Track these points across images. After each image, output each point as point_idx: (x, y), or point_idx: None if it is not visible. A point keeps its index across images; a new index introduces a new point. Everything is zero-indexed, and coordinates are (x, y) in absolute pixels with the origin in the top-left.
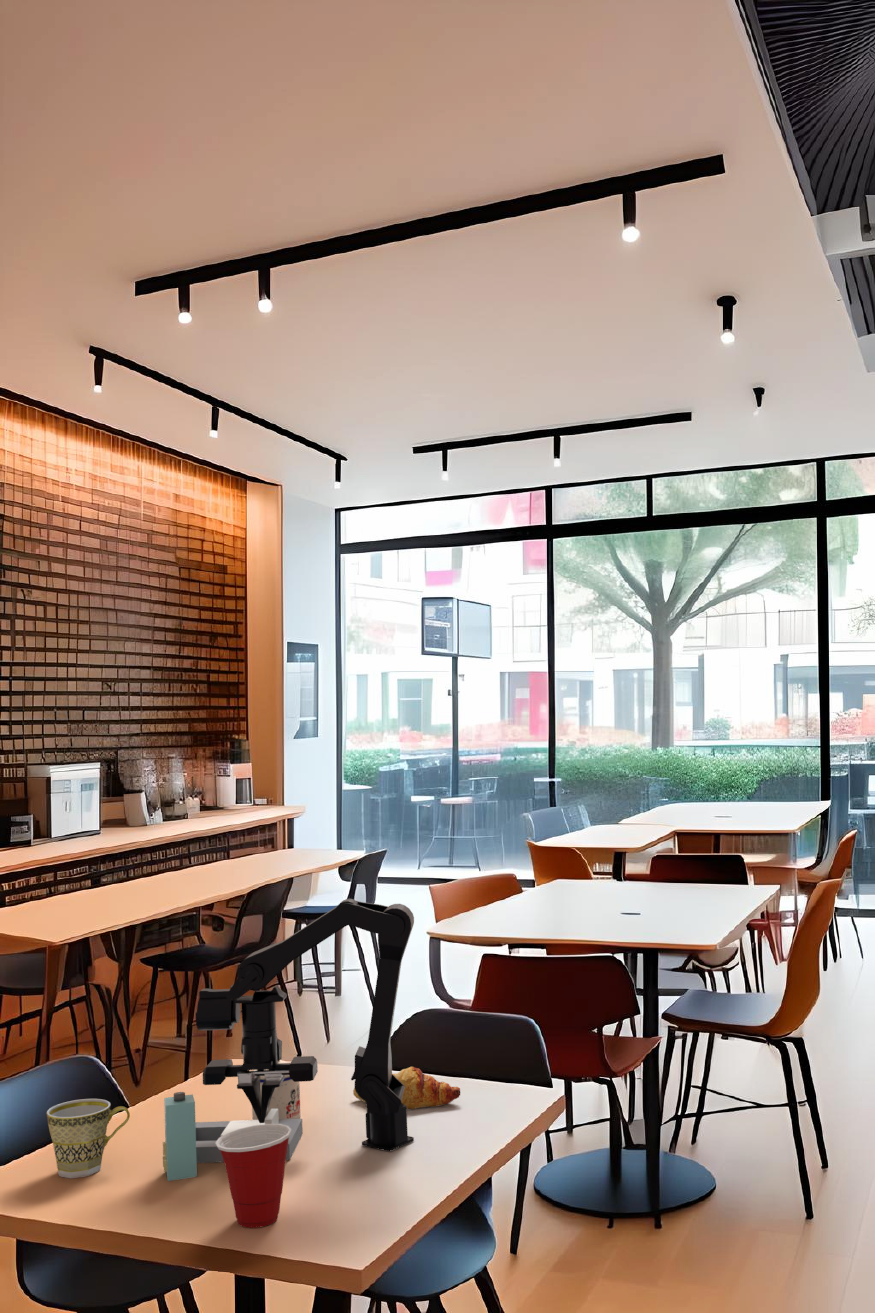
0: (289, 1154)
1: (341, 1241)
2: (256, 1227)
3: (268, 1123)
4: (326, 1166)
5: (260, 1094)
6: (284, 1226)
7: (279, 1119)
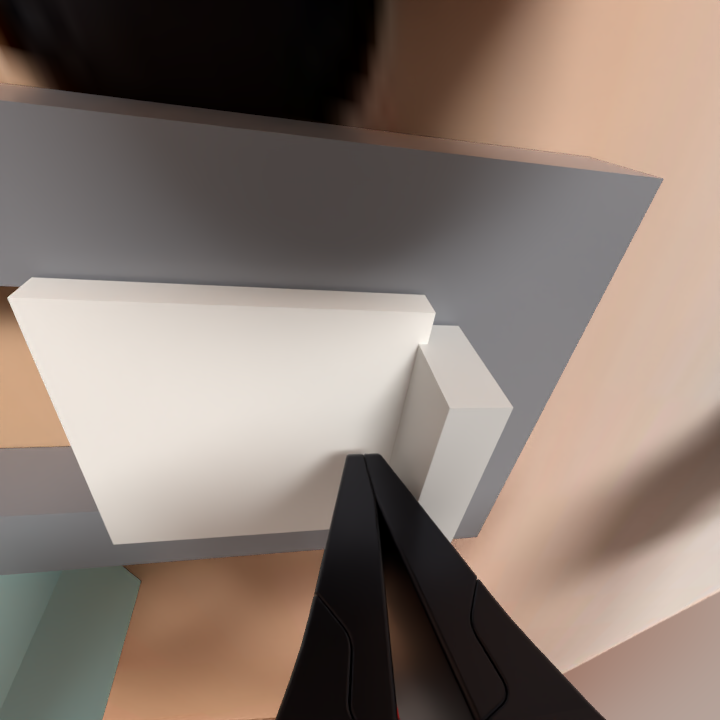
0: None
1: None
2: None
3: None
4: (555, 516)
5: (389, 679)
6: None
7: (481, 157)
